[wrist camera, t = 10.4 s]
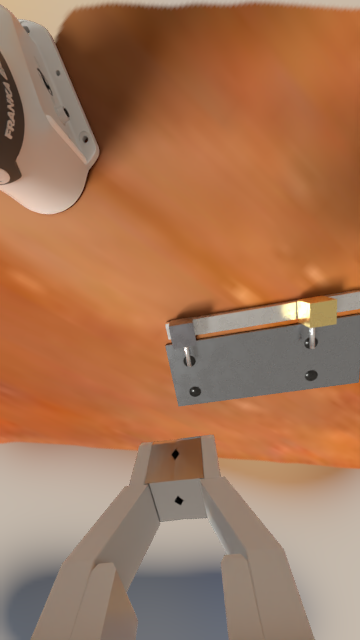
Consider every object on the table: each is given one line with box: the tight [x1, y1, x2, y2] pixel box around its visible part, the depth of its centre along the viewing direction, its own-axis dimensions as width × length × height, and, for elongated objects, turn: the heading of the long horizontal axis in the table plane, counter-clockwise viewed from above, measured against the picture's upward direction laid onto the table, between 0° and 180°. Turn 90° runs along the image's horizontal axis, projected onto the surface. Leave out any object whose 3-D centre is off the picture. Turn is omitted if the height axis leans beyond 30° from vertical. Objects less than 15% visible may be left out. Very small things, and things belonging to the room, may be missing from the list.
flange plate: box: [165, 314, 360, 406], centre depth 38 cm, size 14×36×1 cm, turn 100°
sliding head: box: [297, 296, 337, 349], centre depth 33 cm, size 9×4×4 cm, turn 10°
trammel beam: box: [165, 290, 360, 367], centre depth 34 cm, size 9×34×5 cm, turn 100°
